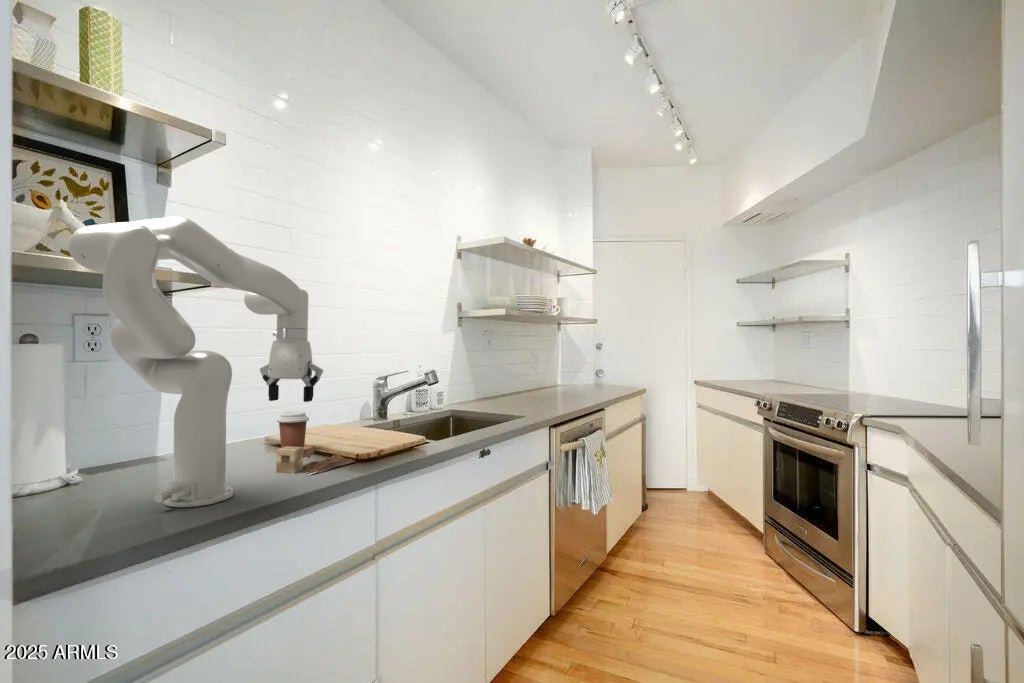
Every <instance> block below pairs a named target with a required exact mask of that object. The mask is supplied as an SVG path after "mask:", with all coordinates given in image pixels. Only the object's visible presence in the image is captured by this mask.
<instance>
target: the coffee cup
mask: <svg viewBox="0 0 1024 683" xmlns="http://www.w3.org/2000/svg"><path fill="white" fill-rule="evenodd" d="M308 421H310V418H309V416H307V414H306V412H305V411H303V410H301V411H300V410H298V411H297V410H296V411H295V410H291V411H283V412H280V415H279V416H278V418H276V423H278V427H279V438H280V448H283V447H286V446H287V447H305V443H306V442H305V441H306V433H307V432H306V431H307V422H308Z"/></svg>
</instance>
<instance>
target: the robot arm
mask: <svg viewBox="0 0 1024 683" xmlns="http://www.w3.org/2000/svg"><path fill="white" fill-rule="evenodd" d="M67 249H68V252H69V255H70V256H71V258H72V259H73V260H74V261H75V262H76V263H77V264H79V265H80V266H82V267H83V268H85V269H88V270H91V271H98V272H100V271H101V272H102V271H103V275H102V277H103V278H102V294H103V297H104V301H105V303H106V304H107V307H108V308H109V310H111V312H112V313H113V314H114V315H115V316H116V318H117V319H116V321H115V322H113V324H112V327H111V328H110V334H109V335H110V342H111V345H112V347H113V349H114V351H115V352H116V354H117V355H118V356H119V357H120V358H121V359H122V360H123V361H124V362H125V363H126V364H127V365H128V366H129V367H130V368H131V369H132V370H133V371H134V372H135V373H136V374H137V375H138V376H139V377H141V379H143V380H144V381H145V383H147V384H148V385H149V386H150V387H152V388H153V389H155V390H156V391H159V392H161V393H164V394H170V395H171V394H172V395H181V396H180V399H179V400H178V402H177V403H178V404H177V406H176V408H175V411H174V416H173V462H172V463H173V468H172V470H173V472H172V473H173V476H172V478H173V479H172V480H173V481H171V482H169V487H168V488H167V489H166V490H162V491H158V492H156V493H155V494H154V496H153V499H154V501H155V502H156V503H158V504H159V503H161V502H163V504H164V505H165V506H168V507H171V508H172V507H173V508H194V507H202V506H209V505H212V504H216V503H217V504H218V503H220V502H222V501H226V500H227V499H230V498H231V497H232V496H233V495H234V489H233V487H231V486H228V485H226V476H227V475H226V469H227V468H226V464H227V463H226V459H227V452H226V451H227V405H228V399H229V398H228V396H229V392H230V389H231V388H230V387H231V384H232V380H233V379H232V378H233V369H232V365H231V362H230V360H228V358H226V357H225V356H224V355H222V354H220V353H218V352H215V351H210V350H194V348H195V345H196V335H195V332H194V330H193V329H192V327H191V325H190V324H189V323H188V322H187V320H186V319H185V318H184V317H183V315H181V314H180V312H179V311H178V310H177V309H176V308H175V307H174V305H172V303H171V302H170V301H169V300H168V298H167V297H166V296H165V295H164V293H163V292H162V290H161V289H160V288H159V286H158V283H157V280H156V268H157V266H156V265H157V262H158V261H162V260H163V261H164V260H174V261H176V262H178V263H180V264H182V265H183V266H184V267H186V268H188V269H189V270H191V271H193V272H194V273H196V274H197V275H199V276H200V277H202V278H203V279H205V280H207V281H208V282H209V283H211V284H214V285H216V286H219V287H223V288H226V289H229V290H230V289H231V290H237V291H244V292H245V293H244V295H243V296H244V299H243V300H244V304H245V306H246V308H247V309H248V310H249V311H251V312H252V313H254V314H257V315H266V316H267V315H270V316H271V315H272V316H273V315H276V330H274V331H273V332H272V336H273V337H275V339H276V340H272V344H271V348H270V352H269V359H268V364H266V365H264V366H262V367H260V368H259V372H260V375H261V377H262V380H263V381H264V382H265V383H266V384H265V385H267V386H268V401H269V402H274V401H278V400H279V393H280V389H279V388H280V387H279V386H280V385H279V384H278V383H279V382H280V381H281V380H302V382H303V383H304V384H305V386H303V398H302V399H303V402H304V403H309V402H312V401H313V398H314V387H315V386H316V384H317V383H319V381H320V379H321V377H322V375H323V373H324V369H323V368H321V367H320V366H318V365H316V364H314V363H313V355H312V354H313V353H312V347H311V342H310V341H309V340H308V334H309V333H308V328H309V294H308V291H307V290H305V289H302V288H300V287H299V285H297V284H296V283H295V282H294V281H293V280H292V279H290V278H289V277H288V276H287V275H285V274H284V273H282V272H281V271H279V270H277V269H275V268H274V267H271V266H269V265H266V264H264V263H261V262H259V261H256V260H255V259H252V258H250V257H246V256H245V255H241V254H239V253H238V252H236V251H235V250H233V249H232V248H230V247H229V246H228V245H226V244H225V243H223V242H222V241H221V240H220V239H218V238H217V237H215V236H214V235H212V234H211V233H210V232H208V231H207V230H206V229H205V228H203V227H202V226H200V225H199V224H198V223H196V222H195V221H193V220H191V219H190V218H186V217H184V216H166V217H158V218H157V217H156V218H149V219H141V220H135V221H121V222H120V221H119V222H111V223H103V224H92V225H86V226H83V227H80V228H78V229H77V230H75V231H74V232H73V233H71V235H70V236H69V239H68V242H67ZM313 372H314V375H313Z"/></svg>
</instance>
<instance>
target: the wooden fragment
mask: <svg viewBox="0 0 1024 683" xmlns="http://www.w3.org/2000/svg"><path fill="white" fill-rule="evenodd" d="M356 461H357V459H356V460H352V459H346V458H344V457H342V456H340V455H338V454H332V456H329V457H327V458H324V459H322V460H319V461H314V462H310V464H309V465H306V466H303V471H304V470H305V471H304V472H306V473H305V474H309V473H313V472H316V471H317V472H319V473H318V474H320V473H323V472H326V471H329V470H332V469H334V468H338V467H341V466H345V465H349V464H352V463H354V464H355V463H356ZM307 472H308V473H307Z"/></svg>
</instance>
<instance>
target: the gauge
mask: <svg viewBox="0 0 1024 683" xmlns="http://www.w3.org/2000/svg"><path fill="white" fill-rule="evenodd" d="M315 450H316V446H315V445H313V446H312V445H304V447H287V446H286V447H283V448H281V447H279V448H277V449H276V456H275V457H276V460H275V461H276V464H275V465H276V466H275V467H276V471H275V472H276V474H291V473H295V474H297V473H299V472H301V471H304V459H305V458H307V459H309V458H310V457H311V456H312V455H315V453H316V451H315ZM296 472H297V473H296Z"/></svg>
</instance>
